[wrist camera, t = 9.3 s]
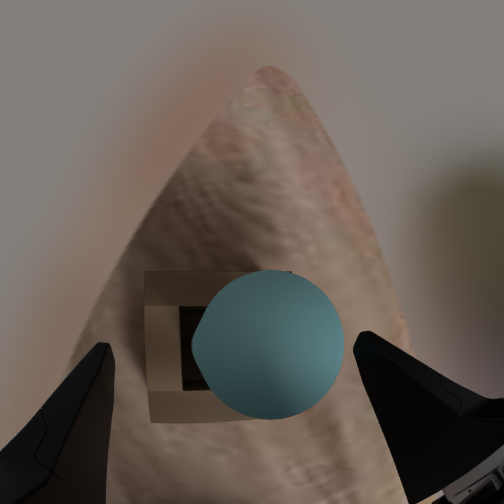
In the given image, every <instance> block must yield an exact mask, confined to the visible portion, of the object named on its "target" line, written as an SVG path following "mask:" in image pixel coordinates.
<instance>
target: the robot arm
mask: <svg viewBox="0 0 504 504" xmlns="http://www.w3.org/2000/svg"><path fill="white" fill-rule="evenodd" d="M353 353H354V356H355V359H356V363H357V366H358V369H359V372H360V376H361V379H362V382H363V385H364V387H365V390H366V392H367V395H368V397H369V399H370V402H371V404H372V407H373V409H374V412H375V414H376V416H377V419H378V421H379V424H380V426H381V429H382V432H383V434H384V437H385V439H386V442H387V444H388V447H389V450H390V452H391V455H392V458H393V460H394V463H395V466H396V469H397V471H398V474H399V477H400V480H401V483H402V485H403V488H404V491H405V494H406V497H407V500H408V503H409V504H417V503H418V502H420V501H422V500H424V499H426V498H428V497H430V496H431V495H433V494H435V493H437V492H438V491H440V490H442V491H443V493H444V495H442V496H441V497H439V498H438V499H436V500H435V501H433V502H432V504H504V398H498V399H490V398H485V397H483V396H481V395H479V394H477V393H475V392H473V391H471V390H469V389H467V388H464V387H462V386H461V385H459V384H457V383H455V382H453V381H452V380H450V379H448V378H446V377H445V376H443V375H442V374H440V373H438V372H437V371H435V370H433V369H432V368H430V367H428V366H427V365H425V364H424V363H422V362H420V361H419V360H417V359H415V358H414V357H412V356H411V355H409V354H407V353H406V352H404V351H402V350H401V349H399V348H398V347H396V346H394V345H393V344H391V343H389V342H388V341H386V340H385V339H383V338H381V337H380V336H378V335H377V334H375V333H373V332H372V331H363V332H360V333H359V335H358V337H357V340H356V342H355V344H354V346H353ZM114 376H115V359H114V356H113V353H112V349H111V346H110V344H109V343H104V342H98V343H97V344H96V345H95V346H94V347H93V348H92V349H91V350H90V351H89V352H88V353H87V355H86V356H85V357H84V358H83V359H82V360H81V361H80V362H79V364H78V365H77V366H76V367H75V368H74V369H73V370H72V372H71V373H70V374H69V375H68V376H67V377H66V378H65V380H64V381H63V382H62V383H61V384H60V385H59V387H58V388H57V389H56V390H55V391H54V392H53V394H52V395H51V396H50V397H49V398H48V400H47V401H46V402H45V403H44V404H43V406H42V407H41V409H39V410H38V412H37V413H36V414H35V415H34V416H33V418H32V419H31V420H30V421H29V422H28V423H27V425H26V426H25V427H24V428H23V429H22V430H21V431H20V432H19V433H18V434H17V435H16V436H15V437H14V438H13V439H12V440H11V441H10V442H9V443H8V444H7V445H6V446H5V447H4V448H3V449H2V450H1V451H0V504H106V477H107V461H108V449H109V438H110V429H111V421H112V413H113V404H114Z"/></svg>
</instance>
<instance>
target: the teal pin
mask: <svg viewBox="0 0 504 504" xmlns="http://www.w3.org/2000/svg"><path fill="white" fill-rule="evenodd" d="M191 351H192V354H193V357H194V359H195V361H196V363H197V365H198V367H199V369H200V371H201V373H202V375H203V377H204V379H205V381H206V382H207V384H208V386H209V387H210V389H211V390H212V391H213V393H214V394H215V395H216V396H217V397H218V398H219V399H220V400H221V401H222V402H223V403H224V404H226V405H227V406H229V407H230V408H231V409H233V410H235V411H237V412H239V413H241V414H243V415H246V416H249V417H253V418H258V419H269V420H272V419H282V418H287V417H291V416H294V415H296V414H299V413H301V412H303V411H305V410H307V409H309V408H310V407H311V406H313V405H314V404H316V403H317V402H318V401H319V400H320V399H321V398H322V397H323V396H324V395H325V394H326V393H327V392H328V390H329V389H330V388H331V386H332V385H333V383H334V381H335V379H336V377H337V375H338V373H339V370H340V367H341V364H342V359H343V353H344V336H343V329H342V325H341V322H340V319H339V316H338V314H337V311H336V310H335V308H334V306H333V304H332V303H331V301H330V300H329V299H328V297H327V296H326V295H325V294H324V293H323V292H322V291H321V290H320V289H319V288H318V287H317V286H315V285H314V284H313V283H311V282H310V281H308V280H307V279H305V278H303V277H300V276H298V275H296V274H292V273H289V272H284V271H278V270H265V271H258V272H253V273H249V274H247V275H244V276H241V277H239V278H237V279H235V280H234V281H232V282H231V283H229V284H228V285H226V286H225V287H224V288H223V289H222V290H221V291H219V292H218V293H217V295H216V296H215V297H214V298H213V299H212V301H211V302H210V304H209V305H208V307H207V308H206V310H205V312H204V315H203V317H202V319H201V321H200V323H199V325H198V327H197V329H196V331H195V333H194V336H193V338H192V341H191Z"/></svg>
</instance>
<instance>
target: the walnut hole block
mask: <svg viewBox="0 0 504 504" xmlns="http://www.w3.org/2000/svg"><path fill="white" fill-rule="evenodd" d="M285 272H289V273H292V271H285ZM249 273H253V272H176V271H145V286H144V331H145V360H146V377H147V390H148V402H149V412H150V421H151V423H213V422H229V421H241V420H251V419H258V418H253V417H249V416H246V415H243V414H241V413H239V412H237V411H235V410H233V409H231V408H230V407H229V406H227V405H226V404H224V403H223V402H222V401H221V400H220V399H219V398H218V397H217V396H216V395H215V394H214V393H213V391H212V390H211V389H210V387H209V386H208V384H207V382H206V381H205V379H204V377H203V375H202V373H201V371H200V369H199V367H198V365H197V363H196V361H195V359H194V357H193V354H192V351H191V341H192V338H193V336H194V333H195V331H196V329H197V327H198V325H199V323H200V321H201V319H202V317H203V315H204V312H205V310H206V308H207V307H208V305H209V304H210V302H211V301H212V299H213V298H214V297H215V296H216V295H217V293H218V292H219V291H221V290H222V289H223V288H224V287H225V286H226V285H228V284H229V283H231V282H232V281H234V280H235V279H237V278H239V277H241V276H244V275H247V274H249Z"/></svg>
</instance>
